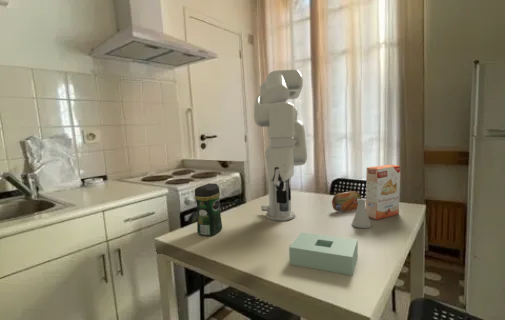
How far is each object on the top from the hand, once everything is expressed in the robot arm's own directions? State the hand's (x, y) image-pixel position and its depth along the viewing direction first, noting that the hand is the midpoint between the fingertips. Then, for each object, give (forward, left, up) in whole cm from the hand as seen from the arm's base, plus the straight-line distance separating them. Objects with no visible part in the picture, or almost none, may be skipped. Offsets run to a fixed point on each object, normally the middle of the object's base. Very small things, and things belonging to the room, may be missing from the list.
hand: (283, 200), depth 90 cm
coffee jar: (-32, +4, -16) cm, 36 cm away
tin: (+12, +48, -16) cm, 52 cm away
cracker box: (+27, +45, -16) cm, 55 cm away
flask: (+20, +30, -16) cm, 39 cm away
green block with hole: (+13, -3, -16) cm, 21 cm away
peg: (0, 0, -3) cm, 3 cm away
